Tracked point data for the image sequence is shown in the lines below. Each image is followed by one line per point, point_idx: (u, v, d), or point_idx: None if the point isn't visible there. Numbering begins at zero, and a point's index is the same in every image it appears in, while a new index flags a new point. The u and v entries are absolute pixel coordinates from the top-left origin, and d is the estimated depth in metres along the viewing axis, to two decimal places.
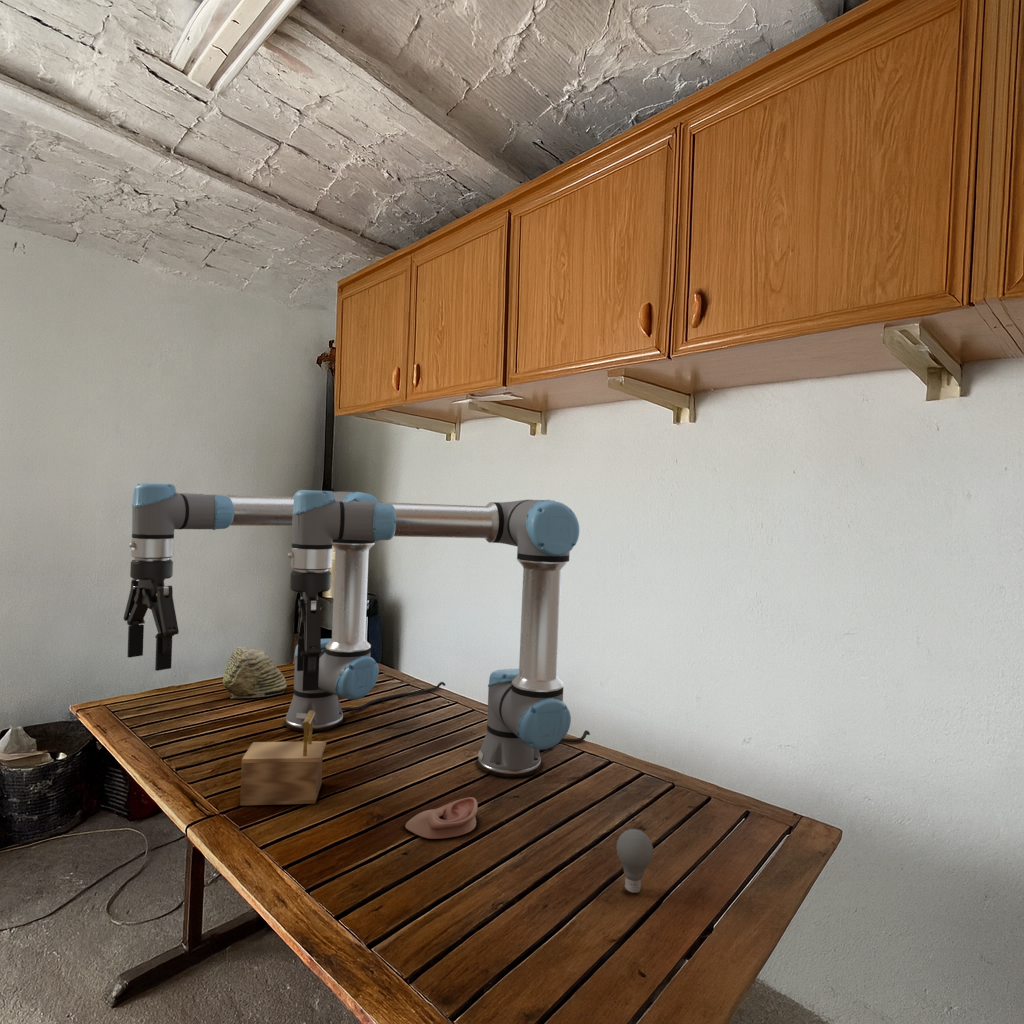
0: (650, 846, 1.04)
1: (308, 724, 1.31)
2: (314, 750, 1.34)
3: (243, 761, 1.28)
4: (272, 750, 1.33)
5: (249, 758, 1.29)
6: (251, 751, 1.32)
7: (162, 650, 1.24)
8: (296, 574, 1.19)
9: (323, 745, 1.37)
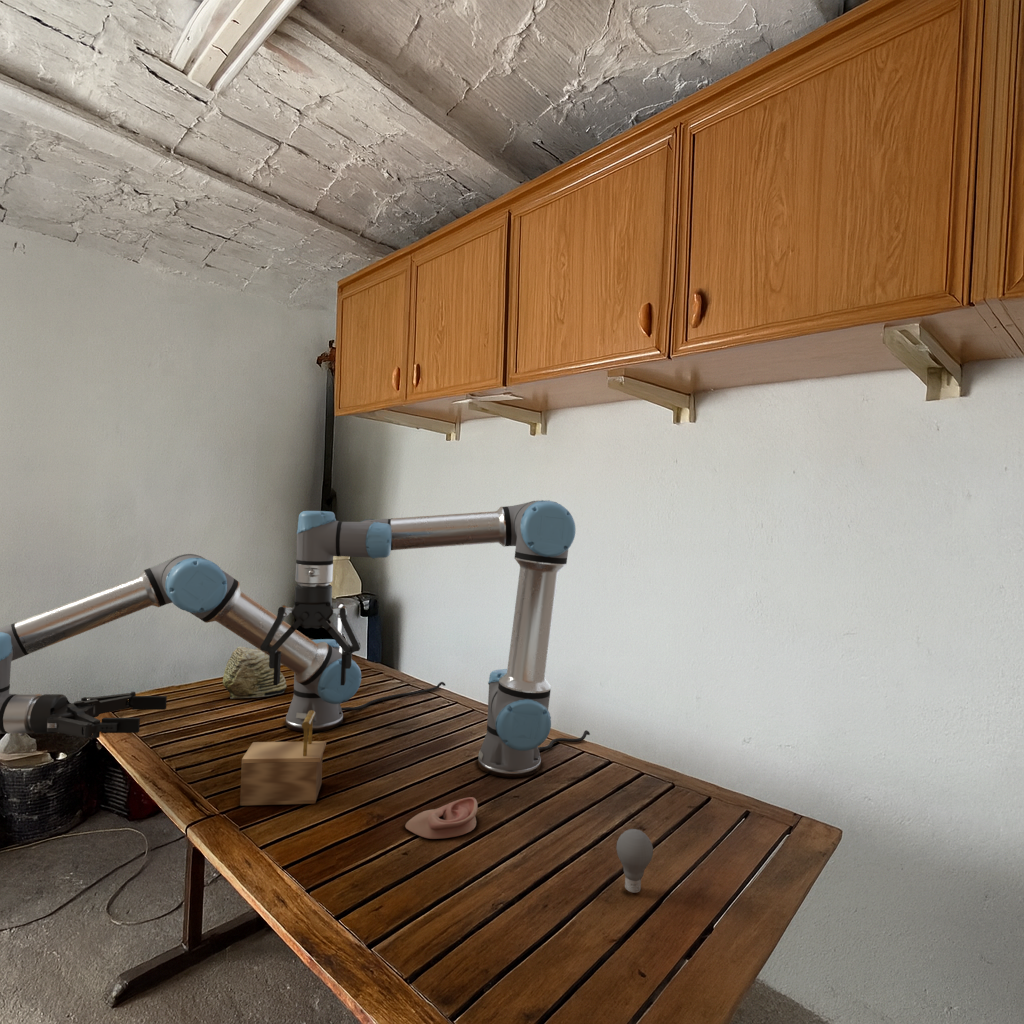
0: (650, 846, 1.04)
1: (308, 724, 1.31)
2: (314, 750, 1.34)
3: (243, 761, 1.28)
4: (272, 750, 1.33)
5: (249, 758, 1.29)
6: (251, 751, 1.32)
7: None
8: (322, 588, 1.31)
9: (323, 745, 1.37)
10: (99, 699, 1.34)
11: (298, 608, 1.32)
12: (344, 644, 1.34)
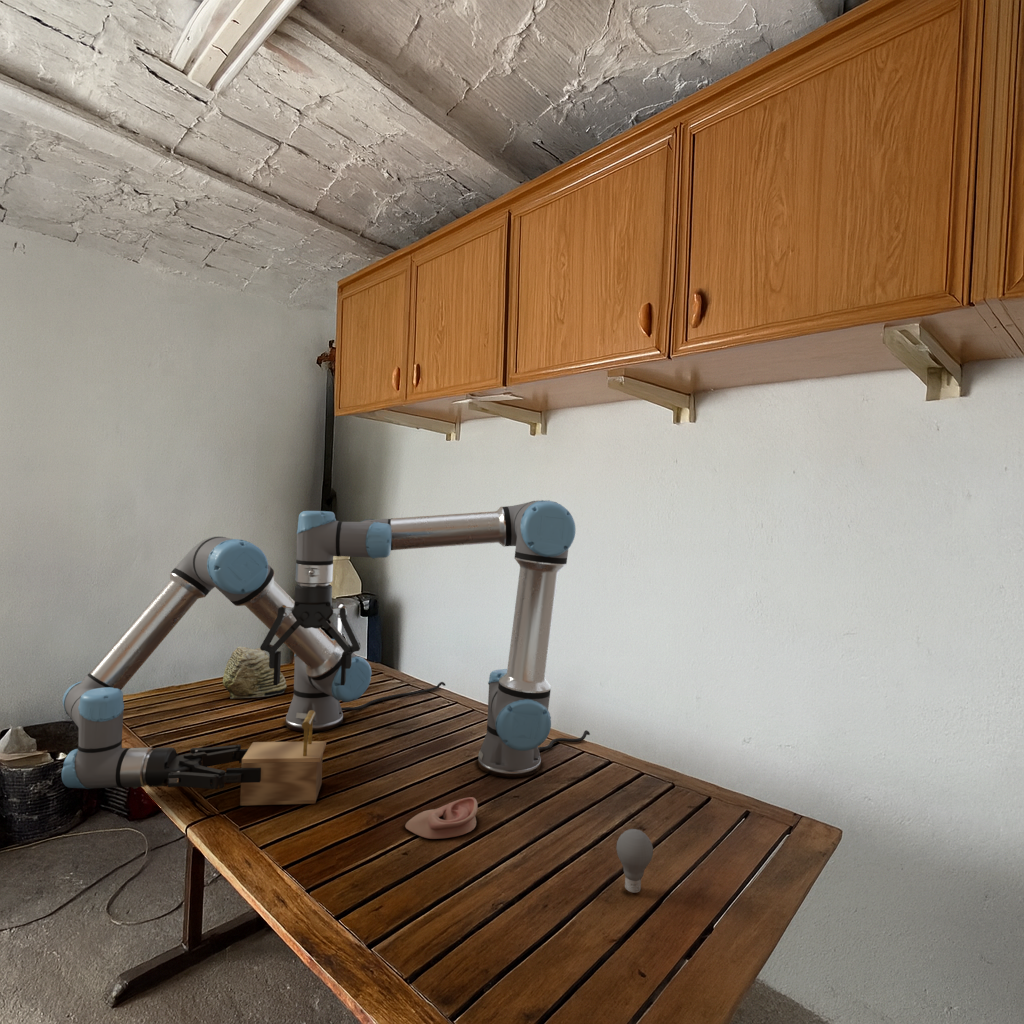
0: (650, 846, 1.04)
1: (308, 724, 1.31)
2: (314, 750, 1.34)
3: (243, 761, 1.28)
4: (272, 750, 1.33)
5: (249, 758, 1.29)
6: (251, 751, 1.32)
7: None
8: (322, 588, 1.31)
9: (323, 745, 1.37)
10: (206, 751, 1.37)
11: (298, 608, 1.32)
12: (344, 644, 1.34)
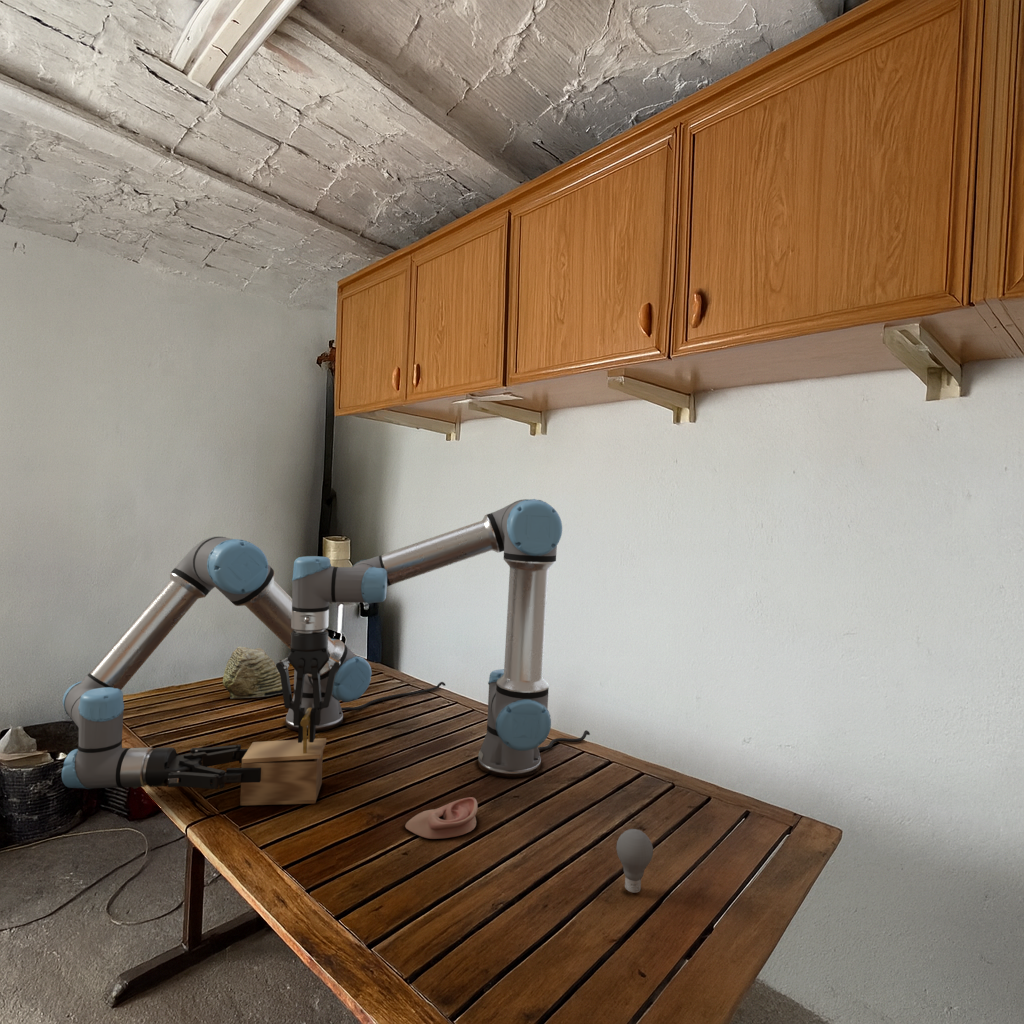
0: (650, 846, 1.04)
1: (307, 721, 1.31)
2: (314, 747, 1.34)
3: (243, 761, 1.28)
4: (272, 749, 1.33)
5: (249, 758, 1.29)
6: (251, 751, 1.32)
7: None
8: (318, 635, 1.31)
9: (323, 742, 1.37)
10: (206, 751, 1.37)
11: (292, 654, 1.33)
12: (318, 700, 1.33)
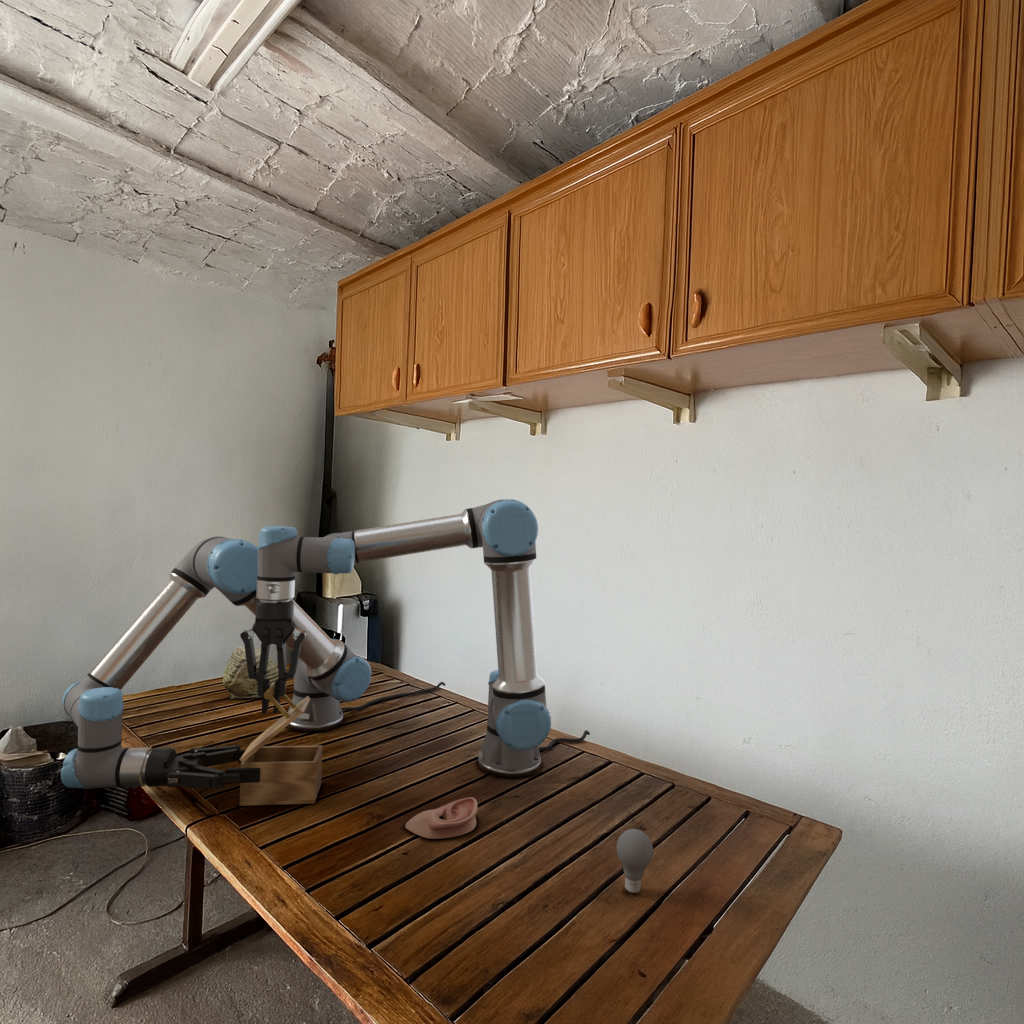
0: (650, 846, 1.04)
1: (269, 692, 1.30)
2: (297, 708, 1.33)
3: (242, 760, 1.28)
4: (264, 735, 1.33)
5: (245, 754, 1.29)
6: (248, 749, 1.32)
7: None
8: (283, 605, 1.30)
9: (304, 700, 1.36)
10: (205, 751, 1.37)
11: (257, 624, 1.31)
12: (282, 671, 1.32)
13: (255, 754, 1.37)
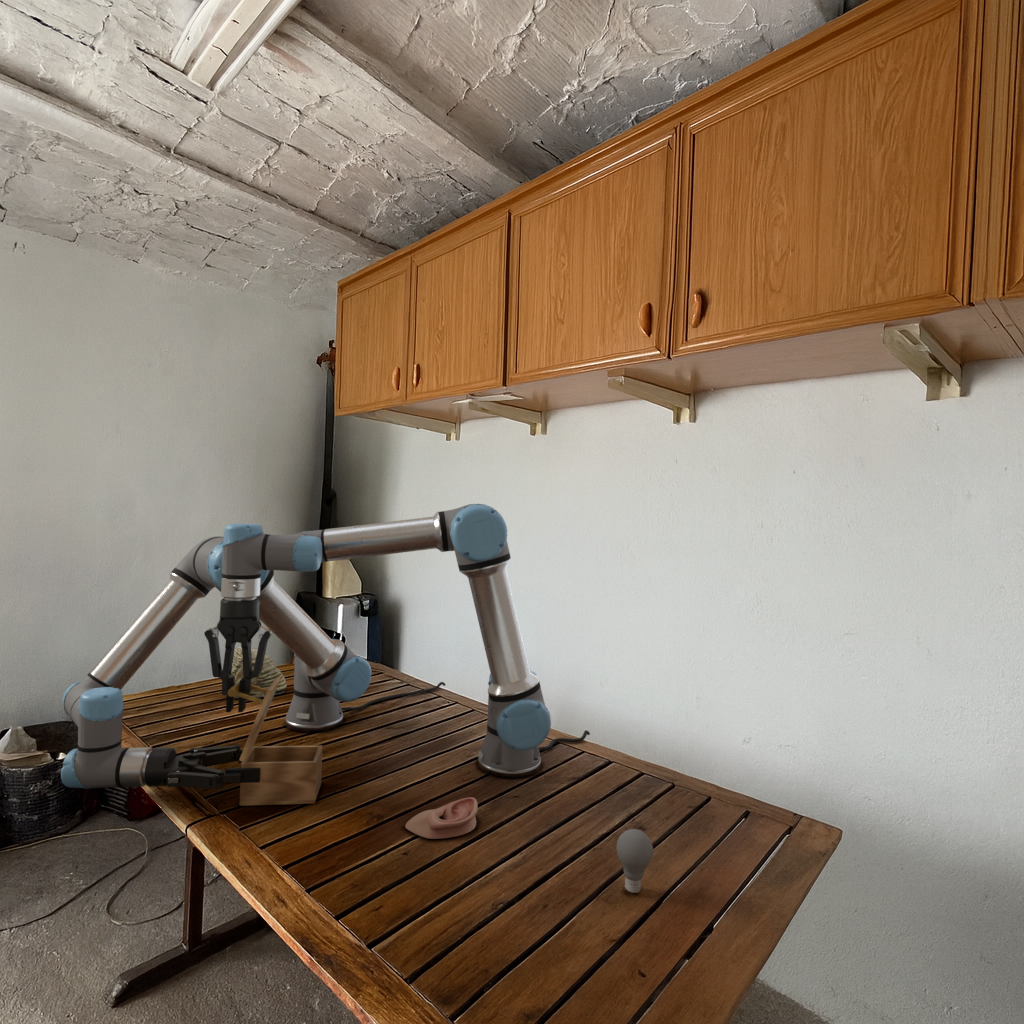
0: (650, 846, 1.04)
1: (231, 690, 1.28)
2: None
3: (242, 759, 1.28)
4: None
5: (242, 753, 1.29)
6: None
7: None
8: (248, 603, 1.29)
9: (274, 681, 1.35)
10: (205, 751, 1.37)
11: (221, 622, 1.30)
12: (247, 669, 1.31)
13: (255, 754, 1.37)
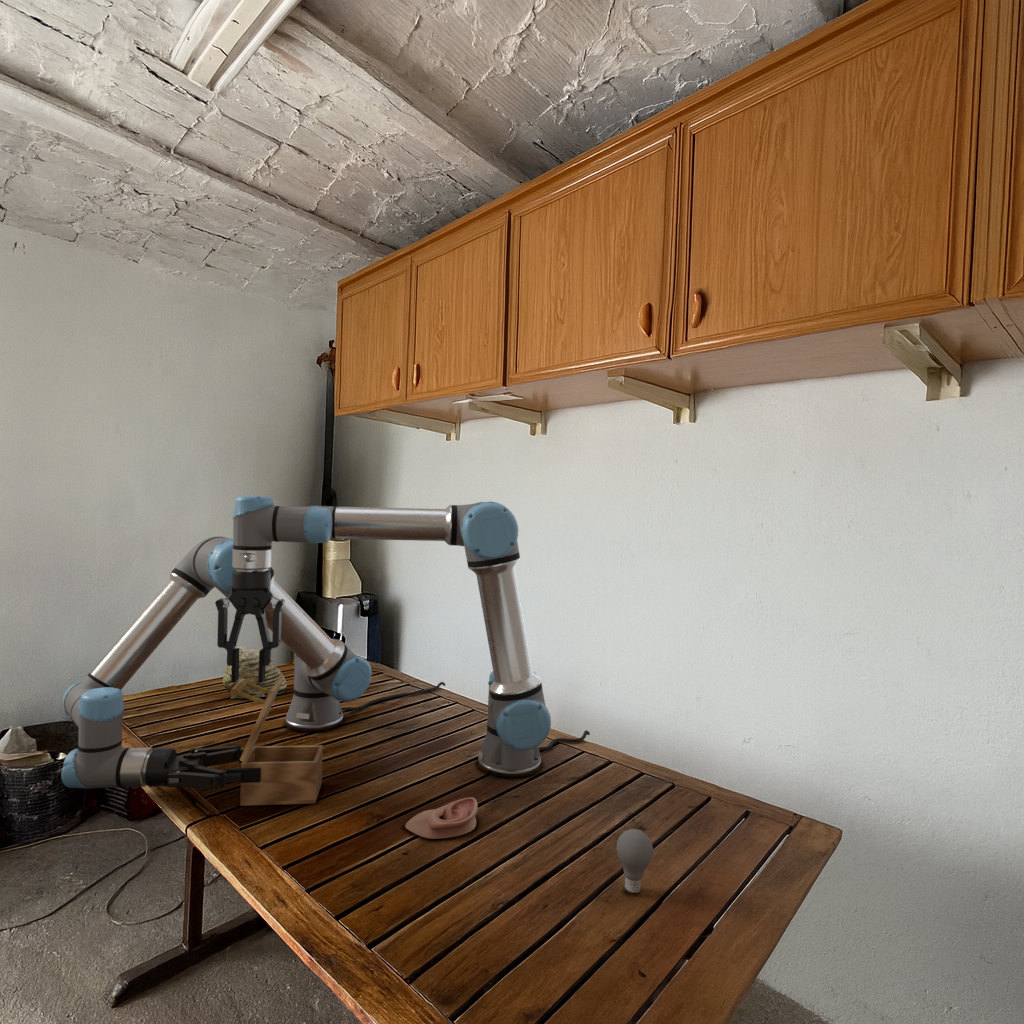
0: (650, 846, 1.04)
1: (234, 689, 1.29)
2: None
3: (242, 759, 1.28)
4: None
5: None
6: None
7: None
8: (259, 574, 1.29)
9: None
10: (206, 751, 1.37)
11: (233, 594, 1.31)
12: (265, 639, 1.32)
13: (256, 754, 1.37)
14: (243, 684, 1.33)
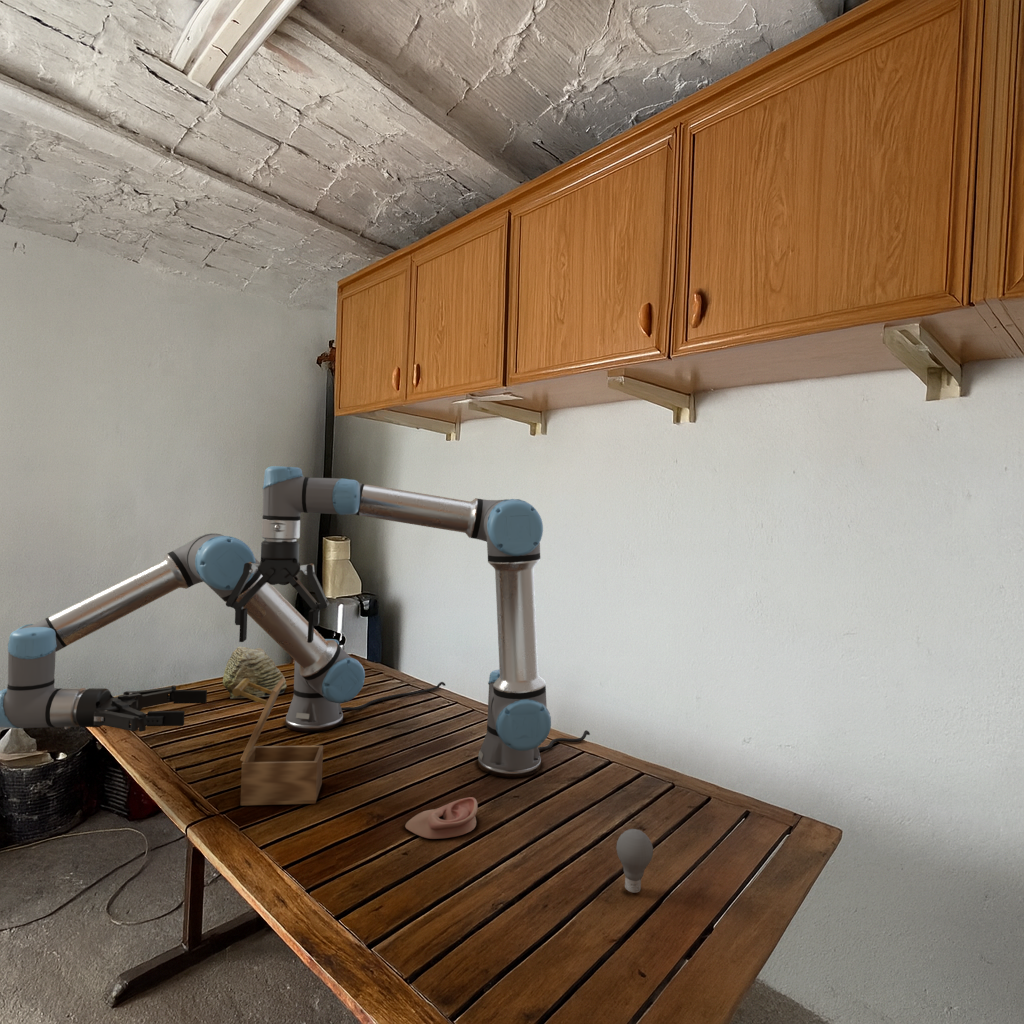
0: (650, 846, 1.04)
1: (236, 689, 1.29)
2: None
3: (243, 759, 1.28)
4: None
5: (243, 753, 1.29)
6: None
7: None
8: (289, 544, 1.30)
9: (278, 682, 1.35)
10: (141, 693, 1.35)
11: (264, 564, 1.31)
12: (311, 601, 1.33)
13: (256, 754, 1.37)
14: (245, 684, 1.33)
